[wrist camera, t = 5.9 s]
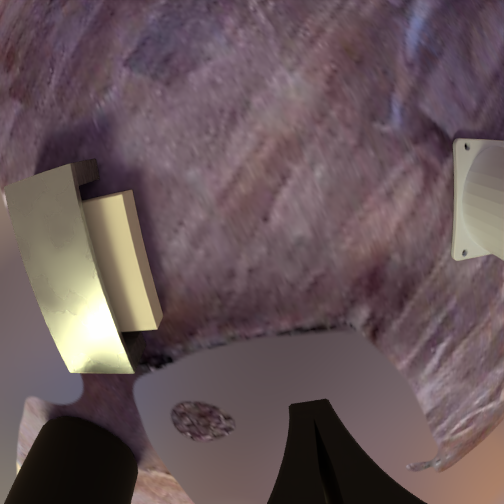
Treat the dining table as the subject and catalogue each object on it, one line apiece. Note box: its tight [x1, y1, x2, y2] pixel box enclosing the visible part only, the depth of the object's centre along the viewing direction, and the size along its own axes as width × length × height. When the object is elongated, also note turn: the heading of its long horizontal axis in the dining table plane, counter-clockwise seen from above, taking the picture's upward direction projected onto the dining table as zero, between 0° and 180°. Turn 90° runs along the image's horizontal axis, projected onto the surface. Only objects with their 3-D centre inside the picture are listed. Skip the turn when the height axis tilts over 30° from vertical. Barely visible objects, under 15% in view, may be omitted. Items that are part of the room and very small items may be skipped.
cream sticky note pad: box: [82, 190, 163, 332], centre depth 17 cm, size 6×8×2 cm
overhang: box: [4, 159, 146, 374], centre depth 17 cm, size 5×12×3 cm, turn 8°
